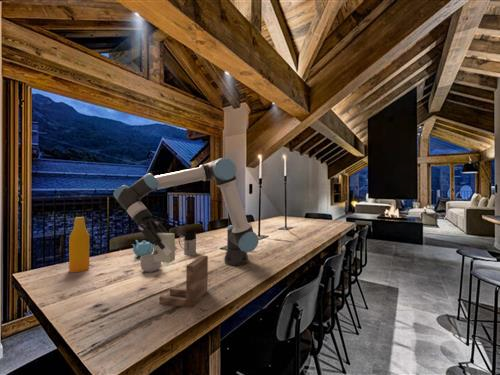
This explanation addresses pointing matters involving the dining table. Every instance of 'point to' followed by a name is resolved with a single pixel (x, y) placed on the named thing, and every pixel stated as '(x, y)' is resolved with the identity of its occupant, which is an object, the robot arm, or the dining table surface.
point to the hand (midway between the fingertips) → (172, 252)
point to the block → (170, 242)
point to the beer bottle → (79, 247)
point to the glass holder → (189, 243)
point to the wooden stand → (190, 285)
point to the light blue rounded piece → (143, 248)
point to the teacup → (149, 263)
